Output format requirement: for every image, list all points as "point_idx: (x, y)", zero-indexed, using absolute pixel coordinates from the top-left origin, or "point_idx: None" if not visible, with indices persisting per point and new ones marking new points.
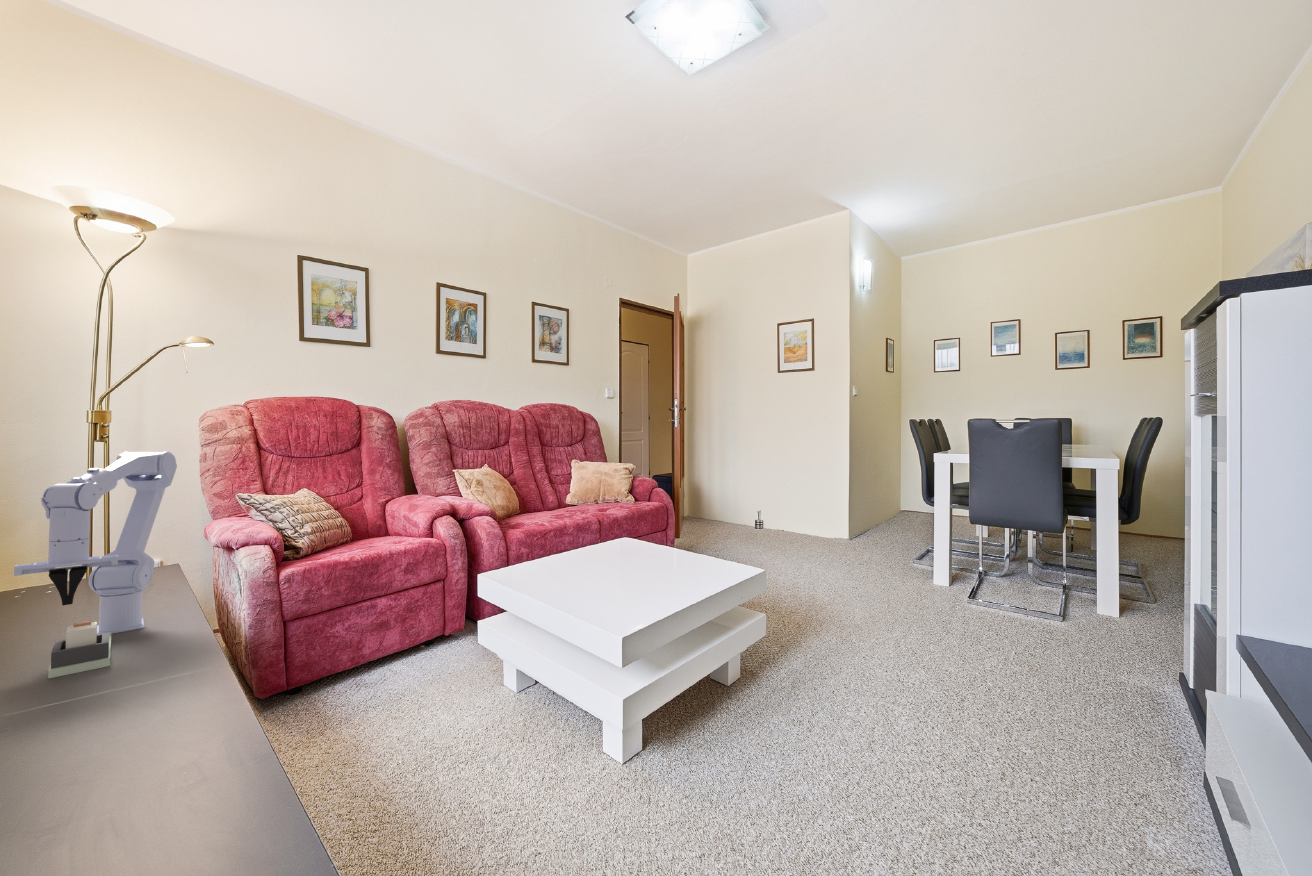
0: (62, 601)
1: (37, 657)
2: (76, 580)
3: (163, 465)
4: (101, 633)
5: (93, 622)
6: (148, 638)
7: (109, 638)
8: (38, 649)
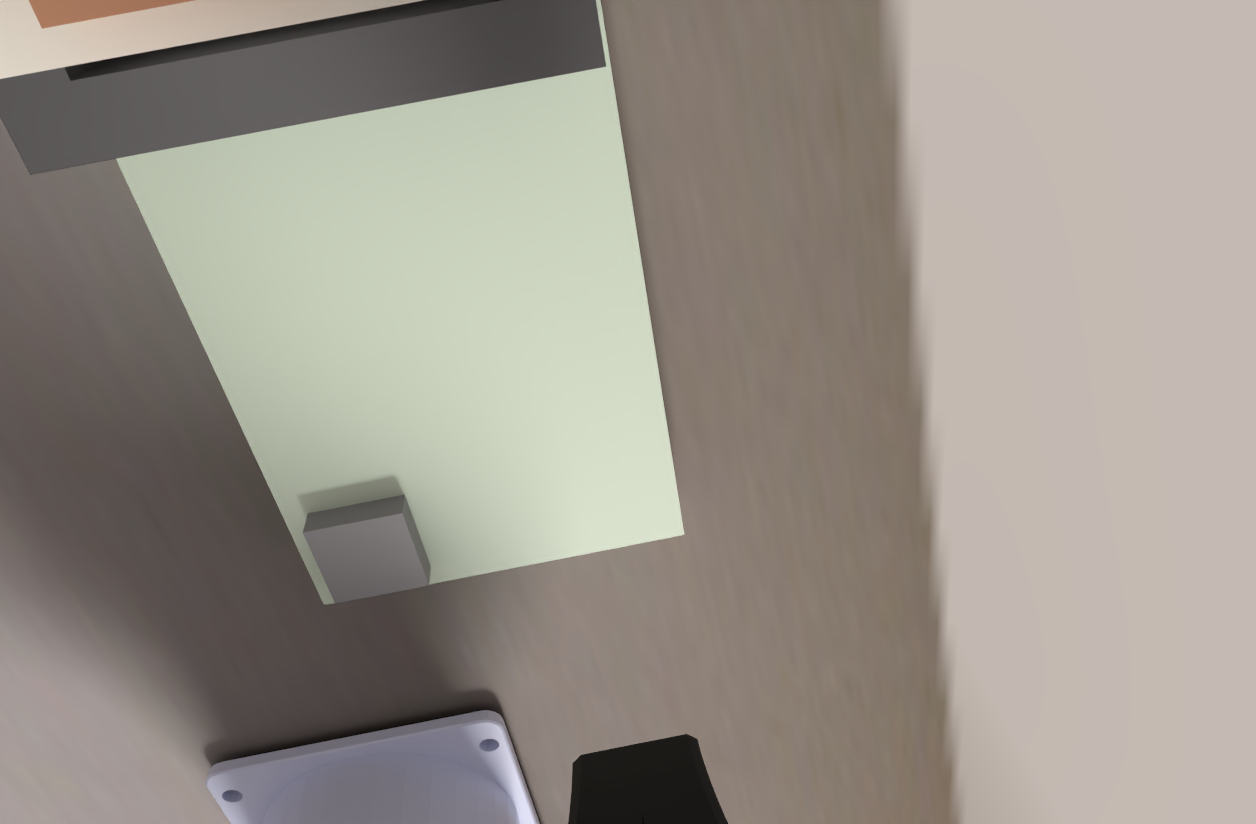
0: (705, 789)
1: (772, 389)
2: None
3: None
4: (378, 585)
5: (39, 41)
6: (4, 484)
7: (266, 453)
8: (801, 597)
